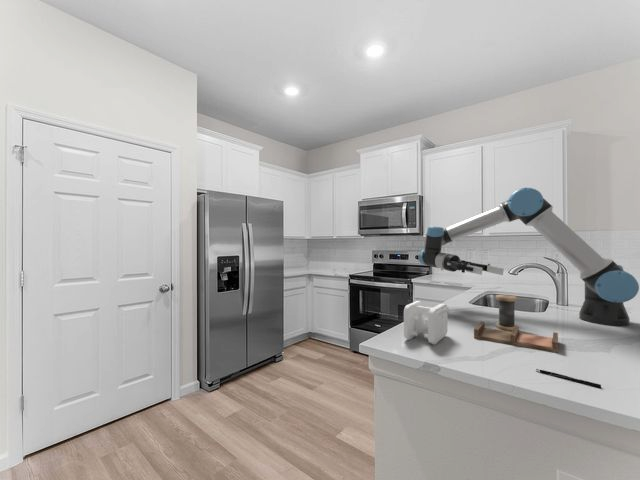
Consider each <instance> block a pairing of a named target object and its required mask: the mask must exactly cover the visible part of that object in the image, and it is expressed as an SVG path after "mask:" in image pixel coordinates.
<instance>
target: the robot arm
mask: <svg viewBox="0 0 640 480" xmlns="http://www.w3.org/2000/svg"><path fill="white" fill-rule="evenodd" d="M516 220H520V221H521V222H522V223H523V224H524V225H525V226H529V227H531V226H532V227H533V228H534V229H535V230H536V231H537V232H538V233H539V234H540V235H541V236H542V237H543V238H545V240H547V242H548V243H550V245H552V246H553V247H554V248H555V249H556V250H557V251H558V252H559V253H560V254H561V255H562V257H564V258H566V260H568V262H569V263H570V264H572V265H573V266H574V267H575V268H576V269H577V270H578V271H579V272H580V276H579V278H580V279H581V280H582V281H583V282H584V301H583V304H582V305H581V308H580V310H579V313H578V314H579V317H578V318H579V319H581V320H583V321H586V322H590V323H595V324H601V325H606V326H608V325H609V326H629V325H630V323H631V321H630V319H631V318H630V316H629V314H628V312H627V309H626V307H625V305H624V303H626V302H629V301H630V300H632V299H634V298H635V297H636V296H637V295H638V293H639V289H640V287H639V286H640V285H639V282H638V280H637V278H636V277H635V276H633V274H631V273H630V272H627V271H625V270H624V268H623V267H624V266H622V265H621V264H620V265H619V264H617V263H616V262H615V261H614V260H612V259H610V258H604V257H602V255H600V254H599V253H598V252H597V251H595V249H594V248H593V247H592V246H590V245H589V244H588V243H587V242H586V241H585V240H584V239H583V238H582V237H580V236H579V235H578V234H577V233H576V232H575V231H574V230H573V229H572V228H570V226H568V225H567V224H566V223H565V222H564V221H563V220H562V219H561V218H560V217H558V216H557V215H556V214H555V213H554V211H553V205H552V204H550V202H548V200H546V199H545V198H544V196H543V194H542V192H540V191H539V190H538V189H536V188H532V187H522V188H519V189H517V190H515V191H514V192H512V194H510V196H509V197H508V199H506V201H503V202H501V203H500V204H499V205H498V206H497V207H495V208H491V209H490V210H487V211H485V212H482V213H480V214H477V215H475V216H472V217H469V218H468V219H465V220H462V221H460V222H458V223H454V224H453V225H450V226H448V227H442V226H441V227H440V226H432V225H429V226H427V230H426V237H425V246H424V249H422V250H420V252H419V254H418V261H419V263H420V264H422V265H425V266H427V267H431V268H437V269H440V270H441V271H444V270H446V271H448V272H457V271H461V273H463V274H465V273H466V272H467V273H471V274H477V275H479V276H480V275H483V272H487V273H492V274H496V275H499V276H500V275H501V276H504V270H505V269H504V268H503V267H498V266H492V265H491V264H490V263H487V264H482V263H475V262H472V261H468V260H467V261H466V260H462V259H461V258H460V257H459V255H456V254H450V253H447V252H446V253H445V252H442V246H445V245H447V244H449V243H452V242H454V241H456V240H459V239H462V238H465V237H468V236H470V235H472V234H475V233H478V232H480V231H483V230H485V229H489V228H492V227H494V226H496V225H499V224H501V223H504V222H507V223H510V222H513V221H516Z"/></svg>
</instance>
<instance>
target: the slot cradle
mask: <svg viewBox="0 0 640 480" xmlns="http://www.w3.org/2000/svg"><path fill="white" fill-rule="evenodd" d="M485 325H486V323H485V322H484V321H480V322H479V323H478V324H477V326H476V327H475V328H474V329H473V338H474V339H478V340H483V341H488V342H489V341H490V342H494V343H500V344H506V345H511V346H518V347H522V348H529V349H534V350H538V351H546V352H550V353H556V354H558V353H559V332H555V331H554V332H553V333H552V337H548V336H542V335H535V334H530V333H529V334H528V333H523V332H520V327H519V326H518V327H514V329H513V331H505V330H501V329H498V328H490V327H489V328H488V327H486V326H485Z"/></svg>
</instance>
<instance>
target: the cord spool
mask: <svg viewBox="0 0 640 480" xmlns="http://www.w3.org/2000/svg"><path fill="white" fill-rule="evenodd" d="M495 300H497V301H498V322H496V323H495V329H497V330H503V331H505V330H506V331H509V332H512V331H513V329H514V327H519V326H518V325H517V324H516V323H515V322H516V321H515V302H518V301H519V300H518V296H514V295H509V294H496V295H495Z"/></svg>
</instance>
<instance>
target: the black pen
mask: <svg viewBox="0 0 640 480" xmlns="http://www.w3.org/2000/svg"><path fill="white" fill-rule="evenodd" d="M535 372H536V373H540V374H542V375H549V376H552V377H555V378H559V379H562V380H567V381H570V382H574V383H578V384H582V385H586V386H590V387H594V388H596V389H600V390H601V388H602V385H601V384H599V383H595V382H591V381H587V380H583V379H579V378H575V377H572V376H568V375H565V374H560V373H556V372H553V371H547V370H544V369H538V368H536V369H535Z"/></svg>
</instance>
